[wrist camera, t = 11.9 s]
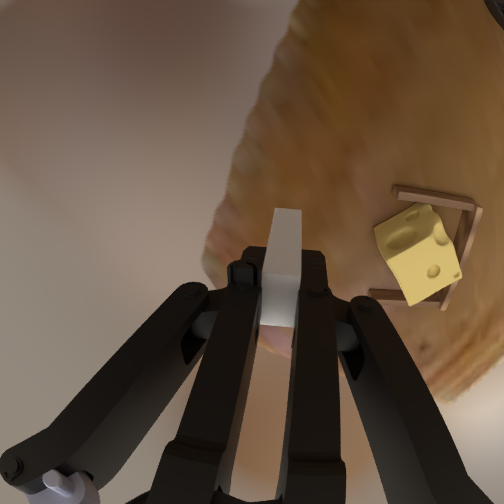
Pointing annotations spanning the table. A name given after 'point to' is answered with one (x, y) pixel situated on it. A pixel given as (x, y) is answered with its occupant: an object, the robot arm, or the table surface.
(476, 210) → the brown wooden u frame
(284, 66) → the table surface
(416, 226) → the cheese
